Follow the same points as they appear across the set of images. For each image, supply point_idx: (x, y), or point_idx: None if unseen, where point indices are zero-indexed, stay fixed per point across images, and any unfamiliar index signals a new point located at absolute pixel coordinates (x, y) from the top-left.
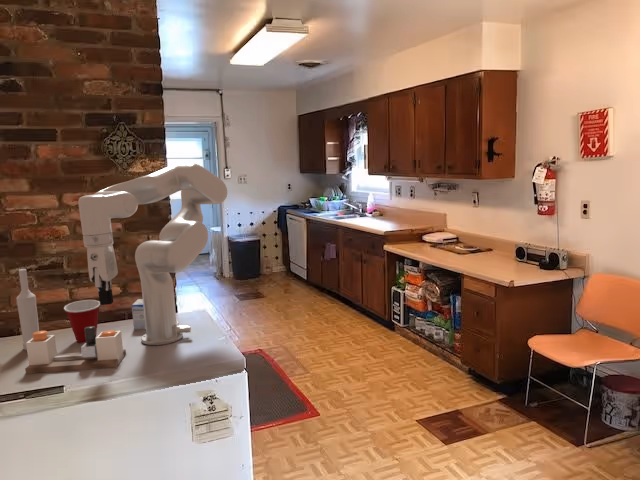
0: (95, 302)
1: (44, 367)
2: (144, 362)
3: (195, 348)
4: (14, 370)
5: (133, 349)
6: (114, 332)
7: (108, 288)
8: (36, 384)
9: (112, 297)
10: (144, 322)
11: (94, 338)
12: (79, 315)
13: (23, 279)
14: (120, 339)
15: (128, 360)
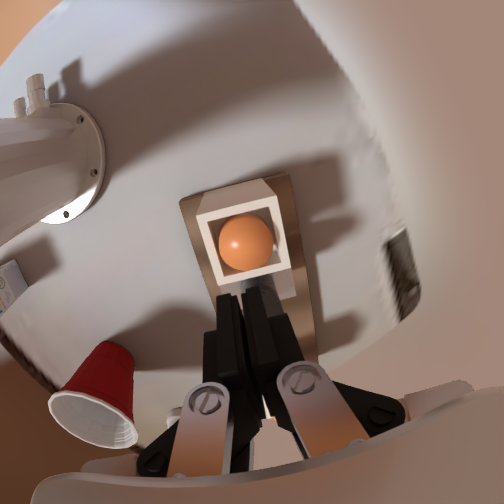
0: (54, 406)
1: (315, 336)
2: (243, 102)
3: (127, 18)
4: None
5: (140, 199)
6: (242, 219)
7: (288, 384)
8: (371, 302)
9: (224, 315)
10: (7, 269)
11: (265, 281)
12: (124, 408)
13: None
14: (215, 202)
15: (229, 162)
